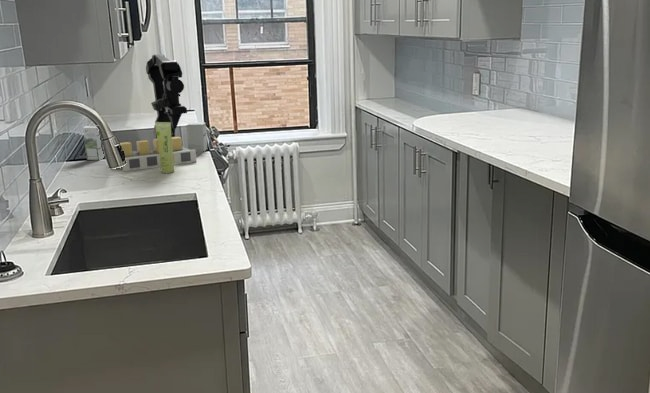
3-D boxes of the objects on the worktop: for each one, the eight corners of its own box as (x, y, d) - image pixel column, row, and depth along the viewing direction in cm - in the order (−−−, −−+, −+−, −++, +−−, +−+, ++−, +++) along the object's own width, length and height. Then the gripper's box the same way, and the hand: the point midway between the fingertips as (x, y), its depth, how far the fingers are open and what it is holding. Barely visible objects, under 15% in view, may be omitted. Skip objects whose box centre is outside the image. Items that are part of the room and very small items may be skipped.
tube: (160, 173, 235) (155, 123, 230) (159, 171, 240) (154, 121, 234) (175, 172, 237) (170, 122, 231) (174, 169, 241) (169, 120, 236)
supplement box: (204, 152, 275) (202, 124, 272) (188, 152, 275) (185, 124, 272) (207, 149, 282) (205, 121, 279) (191, 149, 282) (189, 122, 279)
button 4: (120, 158, 252) (119, 143, 251) (130, 157, 254) (129, 141, 253) (123, 159, 249) (121, 144, 247) (133, 158, 251) (131, 143, 249)
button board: (112, 163, 256) (111, 153, 255) (181, 154, 271) (181, 145, 270) (120, 169, 244) (119, 159, 243) (192, 159, 259) (192, 150, 258)
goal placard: (122, 170, 242) (121, 158, 240) (195, 161, 257) (194, 149, 255) (123, 171, 241) (122, 158, 239) (196, 161, 256) (195, 149, 254)
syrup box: (105, 157, 267) (101, 124, 263) (99, 160, 262) (95, 127, 258) (92, 157, 268) (88, 124, 264) (86, 160, 262) (82, 127, 258)
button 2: (154, 154, 259) (153, 139, 258) (163, 153, 261) (162, 138, 260) (157, 155, 256) (155, 140, 254) (166, 154, 258) (165, 139, 256)
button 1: (170, 152, 263) (169, 137, 261) (179, 151, 265) (178, 136, 263) (173, 153, 260) (172, 138, 258) (182, 152, 262) (181, 137, 260)
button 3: (137, 156, 256) (136, 141, 254) (147, 155, 258) (145, 140, 256) (140, 157, 253) (138, 142, 251) (150, 156, 255) (148, 141, 253)
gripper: (145, 91, 259) (149, 127, 263) (159, 94, 244) (162, 133, 248) (171, 89, 265) (174, 125, 269) (186, 92, 249) (189, 130, 253)
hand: (174, 128), depth 260 cm, fingers closed
